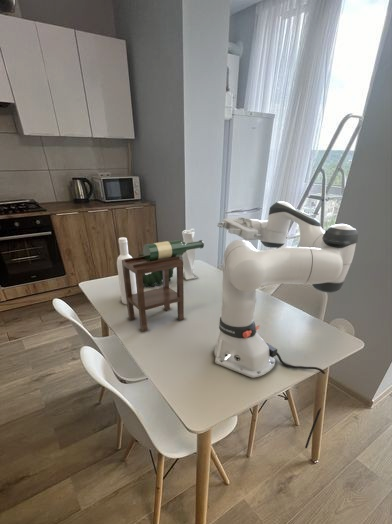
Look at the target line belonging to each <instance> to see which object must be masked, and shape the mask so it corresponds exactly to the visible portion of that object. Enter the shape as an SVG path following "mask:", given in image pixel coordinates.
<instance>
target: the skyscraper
mask: <svg viewBox="0 0 392 524" xmlns="http://www.w3.org/2000/svg"><path fill="white" fill-rule="evenodd" d="M192 230H193V231H192ZM181 234H182V235H181V236H182V239H183V240H182V242H185V243H190V242H195V241H194V238H195V234H196V231H195V228H190V229H187V230H186V229H184V230H183V231H182V232H181ZM181 257H182V261H183V280H185V281H190V280H191V281H192V280H197V279H198V277H197V276H196V275H194V265H195V259H196V249H191V250H186V252H185V253H183V255H182V256H181Z"/></svg>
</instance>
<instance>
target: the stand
mask: <svg viewBox="0 0 392 524" xmlns="http://www.w3.org/2000/svg"><path fill="white" fill-rule="evenodd" d="M122 267H123V275H124V284H125V292H126V300H127V304H126V307H127V316H128V319H129V320H130V321H133V320H135V309H134V308H136V309H137V310H138V316H139V325H140V326H139V327H140V331H141V332H142V333H143V332H147V331H148V325H147V323H148V322H147V311H148V310H151V309H155V308H159V307H163V309H164V310H165V311H169V310H171V304H174V303H176V305H177V308H176V309H177V319H178V321H183V320H184V319H185V311H184V310H185V308H184V307H185V305H184V304H185V303H184V302H185V301H184V300H185V299H184V298H185V295H184V294H185V293H184V289H185V288H184V287H185V286H184V278H183V274H184V266H183V259H180V256H177V257H171V258H166V259H160V260H155V261H149V262H147V261H146V260H145V258H144V256H140V257H138V256H135V257H132V258H128V259H124V260H122ZM170 268H174V269H175V268H176V291H175V290H173V288H171V287H170V282H169V269H170ZM129 270H131V271H132V272H134V273H135V277H136V287H137V293H136V294H132V290H131V281H130V272H129ZM161 270H162V271H163V280H162V287H157V288H153V289H149V290H145V289H144V285H143V276H142V274H145V275H147V274H151V273H152V272H156V271H161ZM144 290H145V291H144Z"/></svg>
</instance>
